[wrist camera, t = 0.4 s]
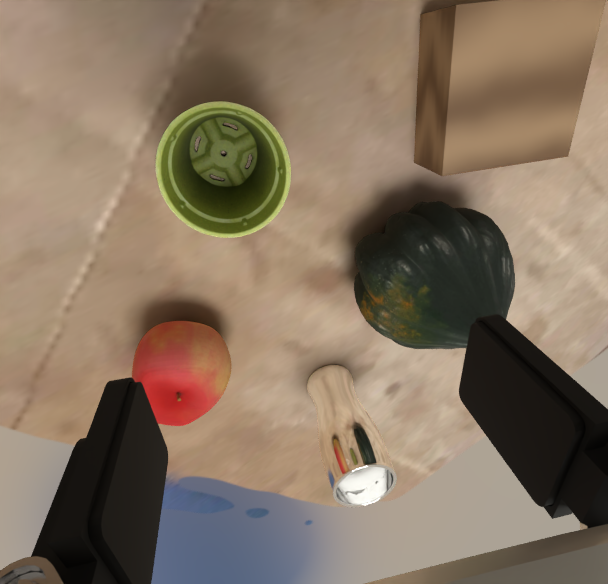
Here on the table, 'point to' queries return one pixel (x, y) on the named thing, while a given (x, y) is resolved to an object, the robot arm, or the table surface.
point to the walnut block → (501, 82)
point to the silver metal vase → (349, 440)
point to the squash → (433, 275)
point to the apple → (182, 370)
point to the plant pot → (223, 169)
